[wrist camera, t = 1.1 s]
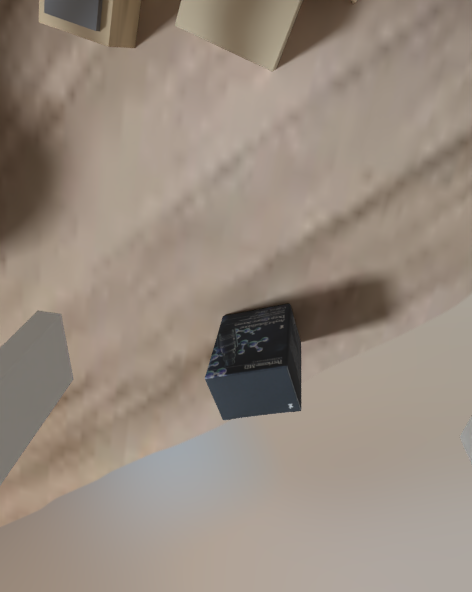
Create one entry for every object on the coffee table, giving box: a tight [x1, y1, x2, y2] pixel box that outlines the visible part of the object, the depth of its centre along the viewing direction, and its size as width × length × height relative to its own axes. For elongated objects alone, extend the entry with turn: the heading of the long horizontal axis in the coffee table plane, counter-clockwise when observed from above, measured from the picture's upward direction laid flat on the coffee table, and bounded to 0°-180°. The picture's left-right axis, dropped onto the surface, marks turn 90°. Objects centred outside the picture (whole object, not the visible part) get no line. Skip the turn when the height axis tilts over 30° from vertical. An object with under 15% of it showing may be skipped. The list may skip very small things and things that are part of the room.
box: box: [205, 304, 301, 420], centre depth 40 cm, size 8×6×11 cm
